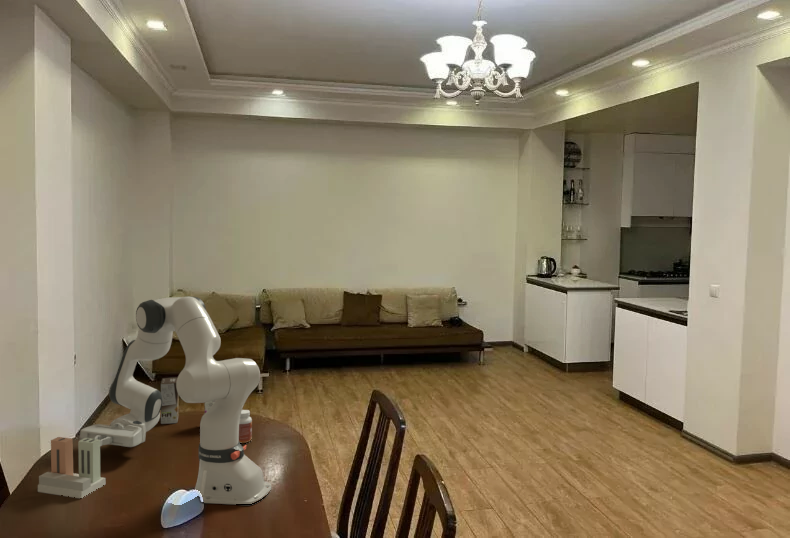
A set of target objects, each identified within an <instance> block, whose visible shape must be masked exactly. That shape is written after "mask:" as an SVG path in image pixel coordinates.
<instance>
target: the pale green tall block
mask: <svg viewBox="0 0 790 538" xmlns="http://www.w3.org/2000/svg"><path fill="white" fill-rule="evenodd" d="M77 449H78V474H79V477H85V478H91V482H93V483H94V482H95V481H97V480H99V479H100V477H101V446H100V440H98V439H91V438H84V439H82V440H81V439H79V440H78V446H77Z"/></svg>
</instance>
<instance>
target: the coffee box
mask: <svg viewBox="0 0 790 538" xmlns="http://www.w3.org/2000/svg"><path fill="white" fill-rule="evenodd" d="M177 378H178V376H177V377H176V376H175V377H163V378H161V381H160V393H161V395H162V407H161V410H160V424H161V425H166V424H177V423H178V421H179V397H180V396H179V394H178V392H177V388H176V382H177Z"/></svg>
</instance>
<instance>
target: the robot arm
mask: <svg viewBox="0 0 790 538" xmlns="http://www.w3.org/2000/svg"><path fill="white" fill-rule="evenodd" d="M210 316H211V315H210V314H209V313H208V312H207V309H206V304H205V303H204V301H203V300H202V299H201V298H200V297H196V296H189V295H188V296H177V297H175V296H174V297H172V296H171V297H163V298H158V299H157V298H156V299H148V300H145V301H142V302H141V303H139V305H138V307H137V308H136V311H135V321H136V324H137V326H138V330H137V331H138V332H137V335H136V338H135V339H133V340H131V341H130V342H129V343H128V344H127V346H126V348H125V350H124V352H123V354H122V357H121V360H120V362H119V366H118V368H117V371H116V374H115V377H114V379H113V381H112V383H111V385H110V386H109V389H108V395H109V399H110V401H111V402H112V403H113V404H116V405H118V406H122V407H124V408H127V409H129V410H130V412H129V413H126V414H124V415H121V416H119V417H117V418H115V419H113V420H112V421H111V422H110V424H101V423H97V424H95V423H94V424H93V425H89V426H86V427H83V428H82V429H80V431H79V432H80V433H79V437H80V440H82V439H84V438H91V439H98V440H100V447H102V446H106V445H112V446H121V447H127V448H133V447H136V446H138V445H140V444H142V443H144V442H146V435H147V433H148V432H149V431H150V430H152V429H153V428H154V427H155V426H156V425H157V424H158V422H159V421H160V419H161V407H162V395H161V390H159V389H157V388H154V387H152V386H150V385H147V384H145V383H143V382H141V381H138V380H137V379H135V377H134V372H135V370H136V366H137V364H138V363H137V362H138V361H145V362H148V361H149V362H150V361H155V360H159V359H161V358H163V357H164V356H166V355H167V353H168V352H169V351H170V349H171V345H172V341H173V335H174V332H175V334H176V335H177V336H176V337H177V339H178V340H179V343H180V345H181V347H182V349H183V352H184V355H185V364H184V367H183V369H182V370H181V371H180V373H179V374H178V376H177V377H178V378H177V382H176V388H177V392H178V397H180V399H181V400H182V401H183V402H185V403H187V404H201V403H203V404H205V402H208V401H213V400H215V402H214V404H213V406H212V407H211V408H210V409H209V410H208V411H207V412H206V413H205V412H204V413H203V415H202V416H201V419H200V422H199V423H200V424H199V427H200V429H199V432H200V433H199V435H200V436H199V438H200V440H199V441H200V442H199V444H198V461H199V463H198V464H199V465H198V473H197V474H198V475H197V480H196V483H195V487H194V490H195V489H196V490H198V491H200V493H201V494H202V497H203V500H204V503H203V504H217V505H218V504H220V505H221V504H222V505H236V504H252V503H254V502H256V501H258V500H260V499H262V498H263V497H264V496H265V495H267V494H268V492H269V491H270V490H271V491H272V484H271V482H268V481H266V480H265V478H264V473H263V470H262V467H260V466H259V465H257V464H256V463H255V462H254V461H253V460H251V459H250V458H249V457H248V456H247V455H246V454H245V452H244V451H245V450H246V449H247V444H244V446H242V444H240V442H239V421H240V415H241V411H242V410H243V407H244V405H245V403H246V402H247V399H248V397H249V396H250V395H251V393H252V392H253V391H254V390H255V389H256V388H257V386H258V385H259V384H260V380H261V372H260V367H259V365H258V364H257V363H256V361H254V360H253V359H252V358H245V357H244V358H242V357H235V358H228V359H224V360H216V359H215V358H214V355H216V353H217V352H218V351H219V350H220V348H221V344H222V343H221V342H222V341H221V337H220V334H219V332H218V330H217V328H216V326H215V324H214V322H213V320H212V318H211V317H210ZM267 487H268V488H267ZM271 491H270V492H271ZM268 495H269V494H268ZM268 495H267V496H268ZM262 500H263V499H262ZM252 505H253V504H252Z"/></svg>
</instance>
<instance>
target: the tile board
mask: <svg viewBox="0 0 790 538" xmlns="http://www.w3.org/2000/svg"><path fill="white" fill-rule="evenodd" d="M106 479H107V478H106V477H101V476H100V479H99V480H97V481H95V482H94V483H93V482H91V478H85V477H79V473H74V472H73V476H72V475H65V474H58V473H52V472H51V471H47V472H44V473H42V474H40V475H39V476H38V484H37V492H38V493H42V494H49V495H56V496H61V495H63V496H62V497H68V496H69V498H74V497H75V498H74V499H80V498H82V499H83V497H84V496H85V497H87V496H89V495H90V494H92V493H93V491H94V492H95V491H97V490H98V488H99V489H100V488H102V487H104V486H105V485H106V482H107V481H106ZM103 485H104V486H103ZM96 489H97V490H96ZM91 492H92V493H91ZM89 493H90V494H89ZM88 494H89V495H88ZM86 495H87V496H86ZM85 497H84V498H85Z"/></svg>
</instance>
